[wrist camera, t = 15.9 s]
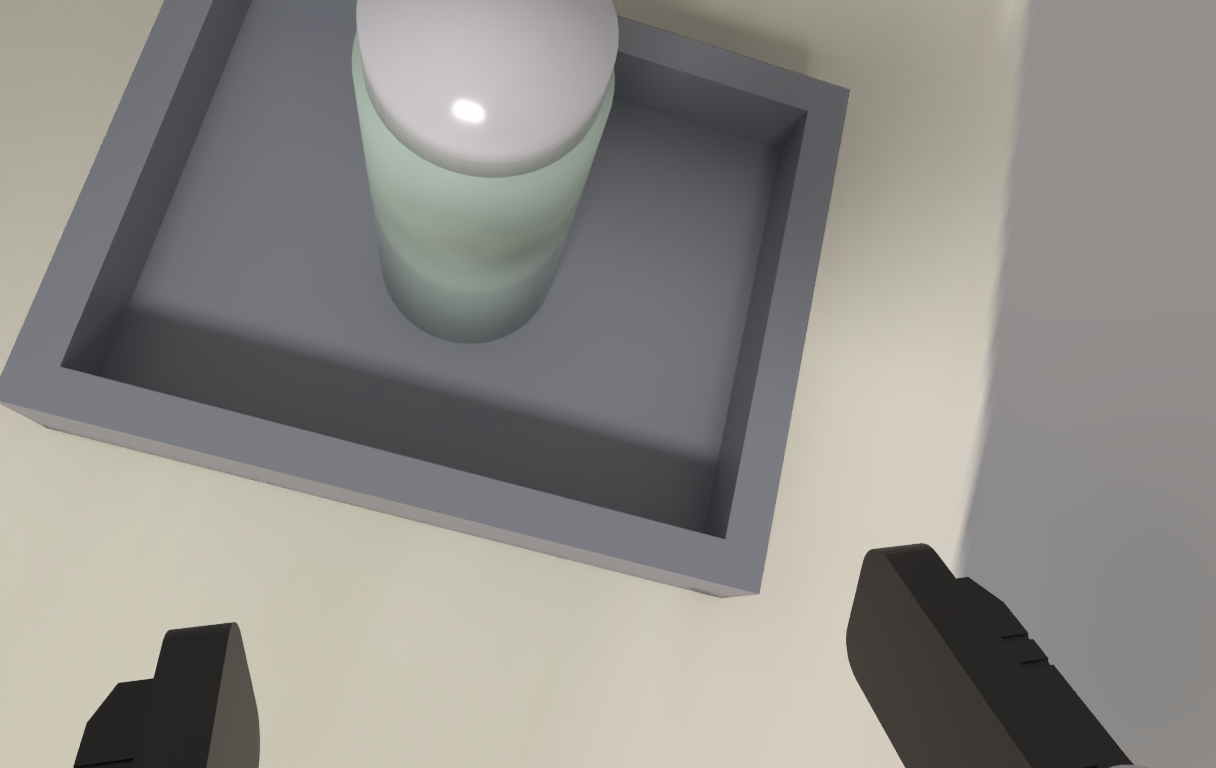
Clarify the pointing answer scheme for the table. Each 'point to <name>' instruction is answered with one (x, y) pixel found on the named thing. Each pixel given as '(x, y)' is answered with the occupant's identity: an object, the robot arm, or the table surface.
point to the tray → (416, 361)
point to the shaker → (479, 149)
